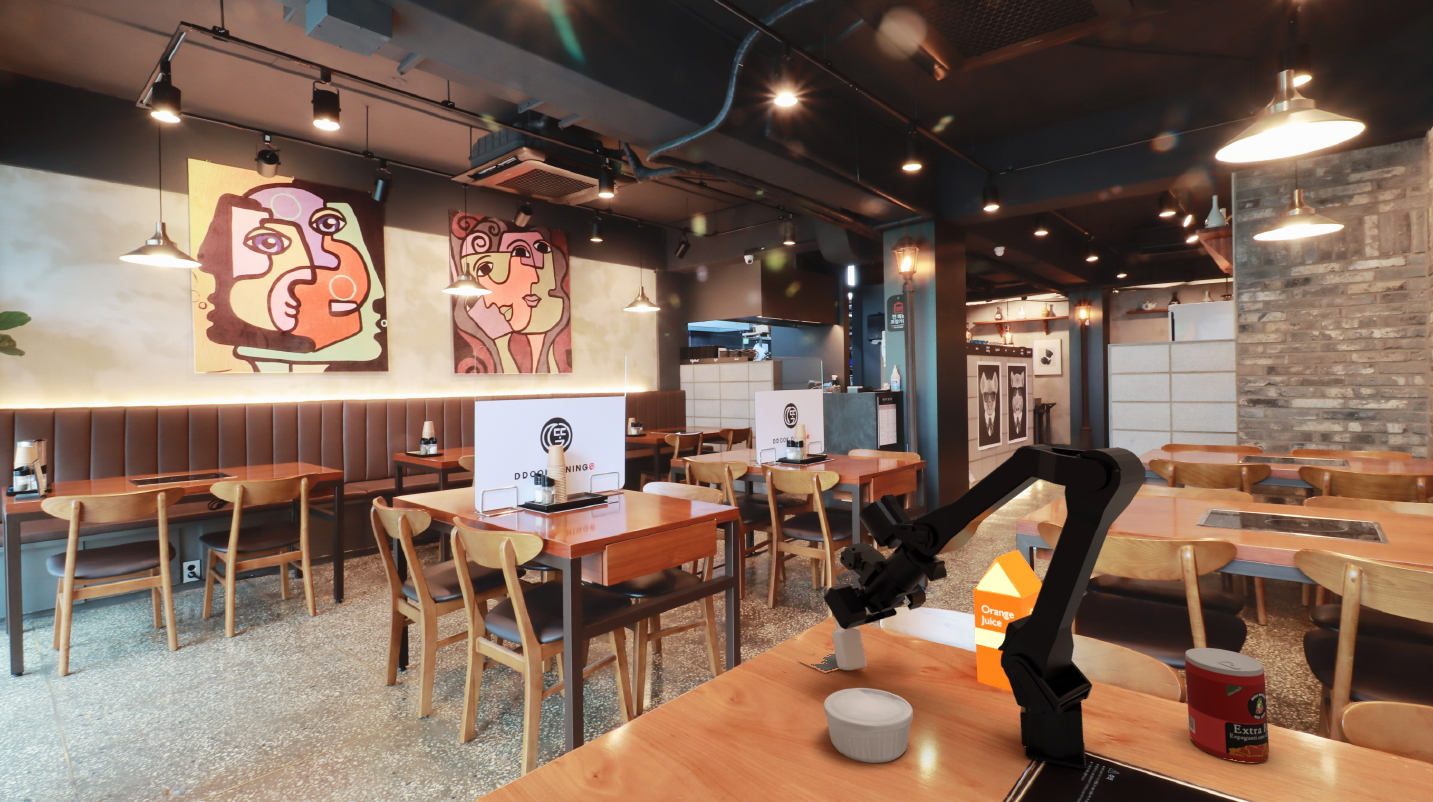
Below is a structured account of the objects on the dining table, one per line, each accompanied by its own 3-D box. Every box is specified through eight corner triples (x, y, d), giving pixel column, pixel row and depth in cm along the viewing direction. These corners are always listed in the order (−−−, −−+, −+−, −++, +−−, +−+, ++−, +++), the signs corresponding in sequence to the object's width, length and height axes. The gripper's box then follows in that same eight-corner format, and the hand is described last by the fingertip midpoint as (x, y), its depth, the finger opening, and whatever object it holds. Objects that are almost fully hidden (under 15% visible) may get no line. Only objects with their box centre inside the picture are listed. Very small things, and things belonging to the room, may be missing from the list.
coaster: (858, 662, 111) (858, 659, 111) (825, 673, 107) (825, 670, 107) (829, 651, 117) (829, 648, 117) (797, 661, 112) (797, 658, 112)
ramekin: (923, 736, 85) (921, 696, 85) (901, 778, 75) (899, 732, 76) (842, 719, 91) (841, 681, 91) (812, 755, 81) (811, 713, 81)
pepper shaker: (836, 670, 108) (826, 611, 111) (857, 666, 109) (847, 608, 112) (847, 671, 105) (836, 610, 108) (869, 667, 106) (857, 607, 109)
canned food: (1239, 769, 75) (1233, 674, 75) (1173, 738, 82) (1169, 651, 83) (1286, 758, 77) (1281, 665, 77) (1218, 728, 84) (1213, 644, 85)
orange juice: (976, 681, 102) (970, 555, 102) (1001, 666, 108) (995, 546, 108) (1027, 695, 96) (1020, 561, 97) (1050, 678, 102) (1043, 552, 103)
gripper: (909, 522, 109) (862, 575, 118) (830, 537, 98) (785, 593, 107) (951, 578, 102) (897, 629, 111) (871, 600, 91) (819, 654, 100)
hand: (850, 624), depth 107 cm, fingers closed
